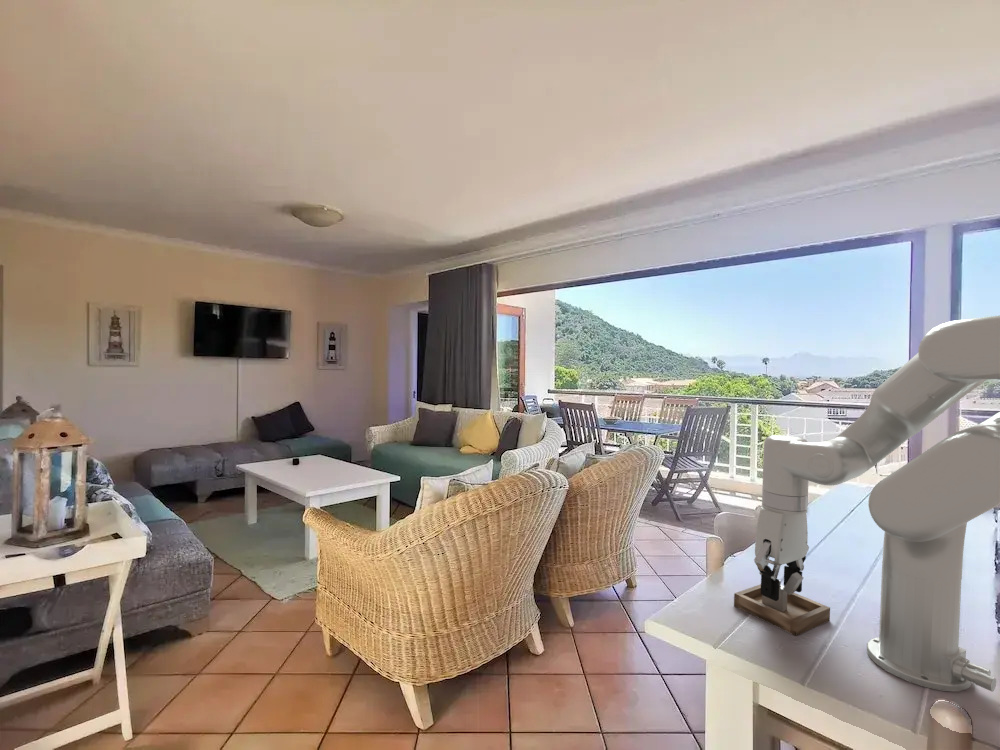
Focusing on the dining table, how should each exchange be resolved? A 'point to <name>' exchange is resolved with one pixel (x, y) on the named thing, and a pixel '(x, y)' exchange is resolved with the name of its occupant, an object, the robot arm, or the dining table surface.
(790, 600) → the tray
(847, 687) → the dining table surface
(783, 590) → the lighter
